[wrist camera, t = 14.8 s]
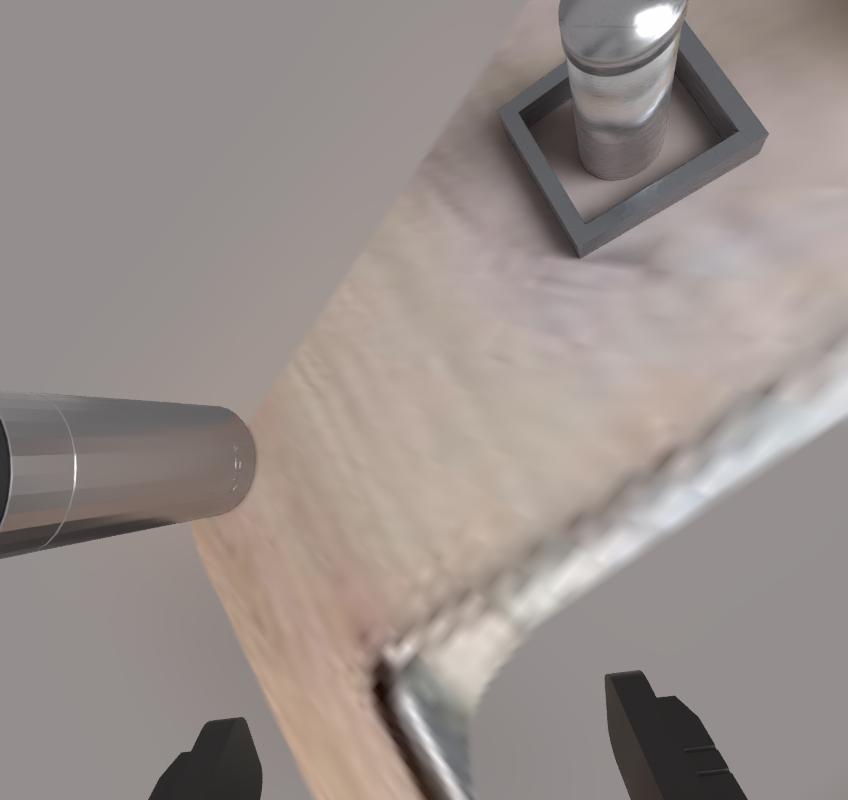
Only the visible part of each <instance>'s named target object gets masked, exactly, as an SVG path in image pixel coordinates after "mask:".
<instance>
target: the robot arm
mask: <svg viewBox="0 0 848 800" xmlns="http://www.w3.org/2000/svg"><path fill="white" fill-rule="evenodd" d="M254 469H255V450H254V445H253V440H252V438H251V435H250V432H249V430H248V429H247V427H246V425H245V424H244V422H243V421H242V420H241V419H240V418H239V417H238V416H237V415H236V414H235V413H233V412H232V411H230V410H229V409H226V408H223V407H219V406H206V405H193V404H180V403H169V402H155V401H141V400H127V399H114V398H100V397H85V396H72V395H58V394H44V393H25V392H13V391H0V559H3V558H8V557H13V556H18V555H23V554H27V553H32V552H37V551H42V550H46V549H51V548H57V547H62V546H66V545H72V544H76V543H81V542H86V541H91V540H96V539H101V538H106V537H111V536H116V535H121V534H126V533H131V532H136V531H141V530H146V529H151V528H156V527H161V526H166V525H171V524H176V523H182V522H187V521H192V520H197V519H202V518H207V517H212V516H217V515H221V514H223V513H226V512H229V511H230V510H231V509H233V508H234V507H236V506H237V505H238V504H239V503H240V502H241V500H242V499H243V498H244V497H245V495H246V493H247V491H248V490H249V488H250V485H251V482H252V479H253V475H254ZM605 691H606V706H607V720H608V730H609V737H610V741H611V745H612V749H613V752H614V756H615V759H616V762H617V765H618V767H619V770H620V773H621V775H622V778H623V780H624V783H625V786H626V788H627V791H628V794H629V796H630V799H631V800H747V798H746V796H745V794H744V793H743V791H742V789H741V788H740V786H739V784H738V783H737V781H736V779H735V778H734V776H733V774H732V773H730V771H729V769H728V766H727V764H726V762H725V761H724V759H723V757H722V756H721V754H720V752H719V751H718V750H716V748H715V744H714V742H713V741H712V739H711V737H710V736H709V734H708V732H707V731H706V729H705V727H704V726H703V724H702V722H701V721H700V719H699V717H698V716H697V715H695V714H694V713H693V712H692V711H691V710H690V709H689V708H688V707H687V706H685V705H684V704H683V703H682V702H681V701H680V700H679V699H678V698H677V697H676V696H668V697H660V698H657V697H656V696H655V694H654V692H653V690H652V688H651V686H650V684H649V682H648V680H647V679H646V677H645V675H644V674H643V672H642V671H640V670H637V671H628V672H620V673H612V674H606V675H605ZM261 791H262V767H261V764H260V761H259V758H258V755H257V752H256V749H255V746H254V742H253V739H252V736H251V733H250V731H249V728H248V724H247V722H246V720H245V719H244V718H243V717H238V718H230V719H222V720H213V721H209V722H207V723H206V724H205V725H204V727H203V728H202V730H201V732H200V734H199V736H198V738H197V740H196V742H195V745H194V747H193V749H192V751H191V752H183V753H181V754H180V755H179V756H178V757H177V759H175V761H174V762H173V763H172V764H171V765H170V766H169V768H168V769H167V770H166V771H165V772H164V774H163V775H162V776H161V777H160V778H159V780H158V782H157V784H156V786H155V788H154V790H153V792H152V794H151V796H150V798H149V799H148V800H260V797H261Z"/></svg>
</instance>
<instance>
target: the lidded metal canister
mask: <svg viewBox="0 0 848 800" xmlns="http://www.w3.org/2000/svg"><path fill="white" fill-rule="evenodd" d="M687 6H688V0H561V1H560V5H559V25H560V33H561V40H562V46H563V49H564V52H565V54H566V59H567V67H568V74H569V81H570V89H571V96H572V104H573V111H574V118H575V126H576V133H577V140H578V148H579V155H580V159H581V162H582V164H583V165H584V167H585V168H586V169H587V170H588V171H589V172H590V173H591V174H593V175H594V176H596V177H598V178H601V179H605V180H621V179H626V178H629V177H632V176H634V175H636V174H638V173H640V172H641V171H643V170H644V169H646V168H647V167H648V166H649V165H650V164H651V163H652V162H653V161H654V159H655V158H656V157H657V155H658V153H659V152H660V150H661V147H662V144H663V140H664V134H665V128H666V122H667V116H668V109H669V103H670V97H671V90H672V84H673V78H674V72H675V65H676V59H677V53H678V46H679V40H680V34H681V28H682V25H683V22H684V20H685V16H686V12H687Z"/></svg>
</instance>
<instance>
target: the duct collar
mask: <svg viewBox="0 0 848 800" xmlns="http://www.w3.org/2000/svg"><path fill="white" fill-rule="evenodd" d="M675 73H676V74H677V76H678V77H679V79H680V80H681V81H682V83H683V84H684V86H685V87H686V88H687V90H688V91H689V93H690V94H691V95H692V97H693V98H694V100H695V101H696V102H697V104H698V105H699V107H700V108H701V109H702V111H703V112H704V114H705V115H706V116H707V118H708V119H709V120H710V122H711V123H712V125H713V126H714V127H715V129H716V130H717V132H718V133H719V134H720V136H721V137H722V139H723V140H724V141H722V142H721V143H719V144H717V145H716V146H714V147H712V148H711V149H709V150H708V151H706V152H704V153H703V154H701V155H699V156H698V157H696V158H694V159H693V160H691V161H689V162H688V163H686V164H685V165H683V166H681V167H680V168H678V169H676V170H675V171H673V172H671V173H670V174H668V175H666V176H665V177H663V178H661V179H660V180H658V181H657V182H655V183H653V184H652V185H650V186H648V187H647V188H645V189H643V190H642V191H640V192H638V193H637V194H635V195H634V196H632V197H630V198H629V199H627V200H625V201H624V202H622V203H620V204H619V205H617V206H615V207H614V208H612V209H611V210H609V211H607V212H606V213H604V214H602V215H601V216H599V217H597V218H596V219H594V220H592V221H591V222H589V223H588V224H586V225H585V223H584V222H583V220H582V218H581V217H580V215H579V213H578V212H577V210H576V208H575V207H574V205H573V203H572V202H571V200H570V198H569V197H568V195H567V193H566V192H565V190H564V188H563V187H562V185H561V183H560V182H559V180H558V178H557V177H556V175H555V173H554V172H553V170H552V168H551V167H550V165H549V163H548V162H547V160H546V158H545V157H544V155H543V153H542V152H541V150H540V148H539V147H538V145H537V143H536V142H535V140H534V138H533V137H532V135H531V133H530V132H529V130H528V127H529V126H531V125H532V124H533V123H535V122H536V121H538V120H539V119H541V118H542V117H543V116H545V115H546V114H548V113H549V112H551V111H552V110H553V109H555V108H556V107H558V106H559V105H561V104H562V103H564V102H565V101H566V100H568V99H569V98H571V97H572V96H571V89H570V81H569V74H568V67H567V61H565V62H564V63H562V64H561V65H560V66H558V67H557V68H556V69H554V70H553V71H551V72H550V73H549V74H547V75H546V76H545V77H543V78H542V79H540V80H539V81H538V82H536V83H535V84H533V85H532V86H531V87H529V88H528V89H527V90H525V91H524V92H522V93H521V94H520V95H518V96H517V97H516V98H514V99H513V100H511V101H510V102H509V103H507V104H506V105H505V106H503V107H502V108H500V109H499V110H498V114H499V116H500V119H501V122H502V125H503V127H504V129H505V131H506V133H507V135H508V136H509V138H510V140H511V141H512V143H513V145H514V147H515V148H516V150H517V152H518V153H519V155H520V157H521V158H522V160H523V162H524V164H525V165H526V167H527V169H528V170H529V172H530V174H531V176H532V177H533V179H534V181H535V182H536V184H537V186H538V187H539V189H540V191H541V193H542V194H543V196H544V198H545V199H546V201H547V203H548V205H549V206H550V208H551V210H552V211H553V213H554V215H555V216H556V218H557V220H558V222H559V223H560V225H561V227H562V228H563V230H564V232H565V234H566V235H567V237H568V239H569V240H570V242H571V244H572V245H573V247H574V249H575V251H576V252H577V254H578V256H579V257H580V258H582V257H584V256H586V255H587V254H589V253H591V252H592V251H594V250H596V249H597V248H599V247H601V246H603V245H604V244H606V243H608V242H609V241H611V240H613V239H615V238H616V237H618V236H620V235H621V234H623V233H625V232H626V231H628V230H630V229H632V228H633V227H635V226H637V225H638V224H640V223H642V222H643V221H645V220H647V219H649V218H650V217H652V216H654V215H655V214H657V213H659V212H660V211H662V210H664V209H666V208H667V207H669V206H671V205H672V204H674V203H676V202H677V201H679V200H681V199H683V198H684V197H686V196H688V195H689V194H691V193H693V192H694V191H696V190H698V189H700V188H701V187H703V186H705V185H706V184H708V183H710V182H711V181H713V180H715V179H717V178H718V177H720V176H722V175H723V174H725V173H727V172H728V171H730V170H732V169H734V168H735V167H737V166H739V165H740V164H742V163H744V162H745V161H747V160H749V159H751V158H752V157H754V156H756V155H757V154H759V152H760V150H761V148H762V146H763V144H764V142H765V140H766V138H767V136H768V134H769V133H768V132H767V130H766V129H765V128H764V126H763V125H762V124H761V122H760V121H759V120H758V118H757V117H756V116H755V114H754V113H753V112H752V110H751V109H750V108H749V106H748V105H747V104H746V102H745V101H744V100H743V98H742V97H741V96H740V94H739V93H738V92H737V90H736V89H735V87H734V86H733V85H732V83H731V82H730V81H729V79H728V78H727V77H726V75H725V74H724V73H723V71H722V70H721V69H720V67H719V66H718V65H717V63H716V62H715V61H714V59H713V58H712V57H711V55H710V54H709V53H708V51H707V50H706V49H705V47H704V46H703V45H702V43H701V42H700V41H699V39H698V38H697V37H696V35H695V34H694V33H693V31H692V30H691V28H690V27H689V26H688V24H687V23H686V22H685V20H684V22H683V25H682V28H681V34H680V40H679V46H678V53H677V59H676V65H675Z"/></svg>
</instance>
